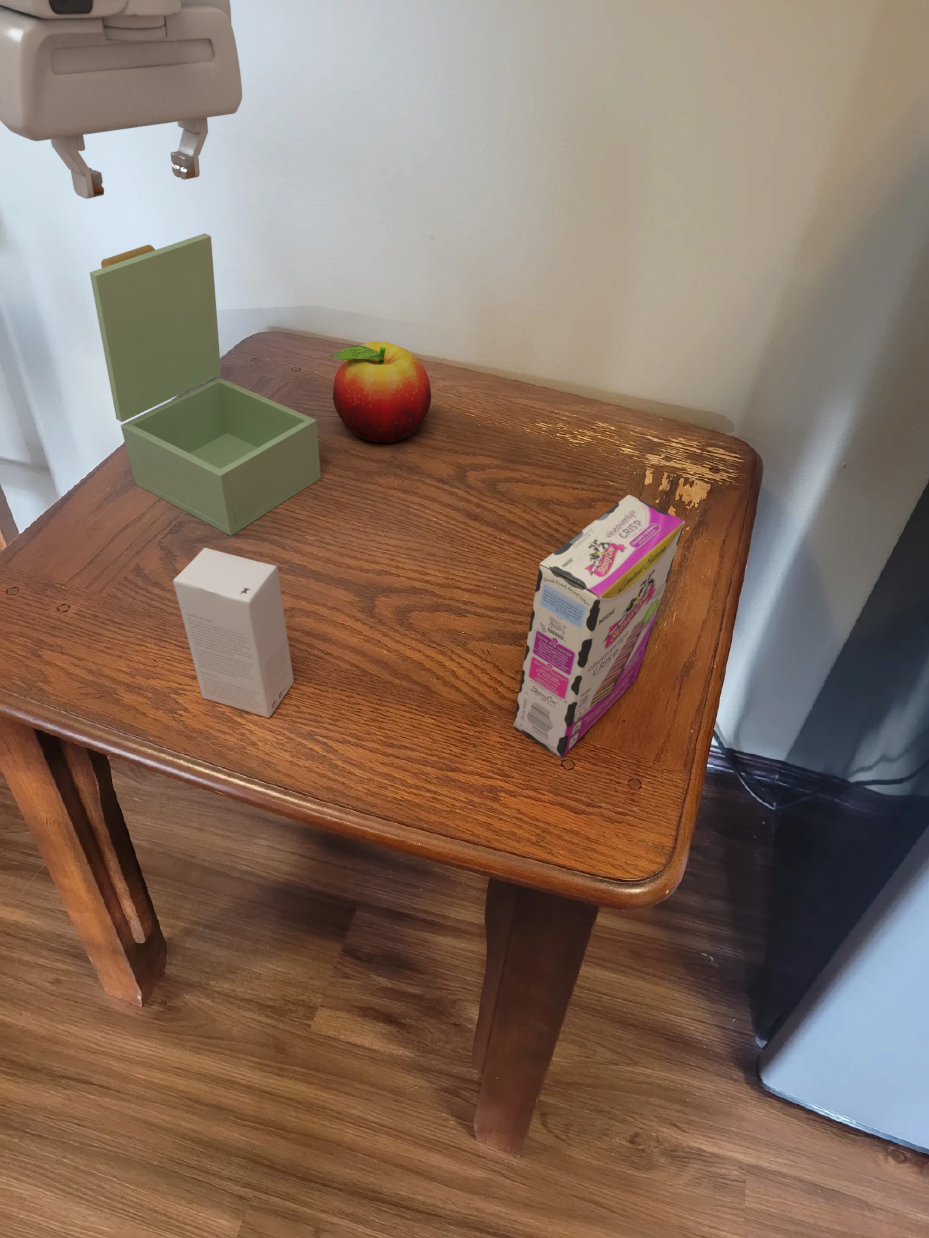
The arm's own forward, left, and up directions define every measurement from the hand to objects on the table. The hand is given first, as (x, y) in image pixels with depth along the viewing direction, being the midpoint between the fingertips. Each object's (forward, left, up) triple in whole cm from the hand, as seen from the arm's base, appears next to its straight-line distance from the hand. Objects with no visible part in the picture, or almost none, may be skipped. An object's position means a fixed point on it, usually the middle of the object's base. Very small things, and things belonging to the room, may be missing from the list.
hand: (140, 186), depth 69 cm
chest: (+3, -3, -27) cm, 28 cm away
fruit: (+21, +2, -28) cm, 35 cm away
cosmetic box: (-1, -32, -28) cm, 42 cm away
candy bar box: (+23, -42, -28) cm, 55 cm away
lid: (0, +2, -13) cm, 13 cm away
